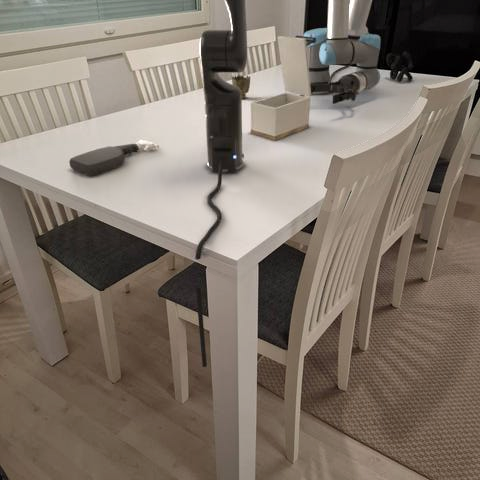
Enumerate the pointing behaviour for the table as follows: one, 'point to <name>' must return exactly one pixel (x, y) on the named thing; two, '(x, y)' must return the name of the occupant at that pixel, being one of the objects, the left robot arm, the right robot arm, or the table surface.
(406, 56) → the squiggle
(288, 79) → the lid
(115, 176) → the table surface
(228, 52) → the left robot arm
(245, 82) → the mottled brown jagged dome
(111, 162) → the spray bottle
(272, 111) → the cream rectangular box
